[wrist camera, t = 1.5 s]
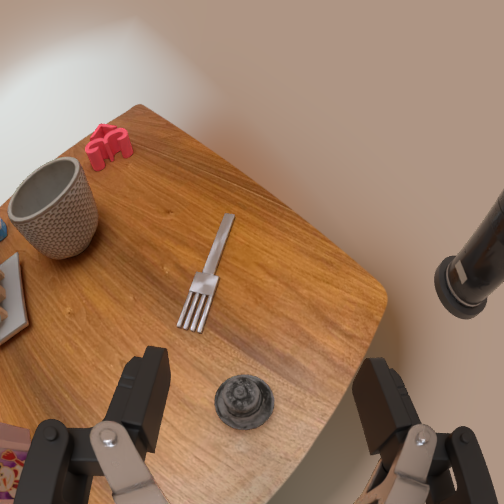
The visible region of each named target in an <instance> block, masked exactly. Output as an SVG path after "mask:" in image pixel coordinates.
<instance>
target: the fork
mask: <svg viewBox="0 0 504 504" xmlns="http://www.w3.org/2000/svg"><path fill="white" fill-rule="evenodd" d="M234 219H235V215H234V214H228V213H225V215H224V217H223V220H222V222H221V225H220V227H219V230H218V232H217V235H216V238H215V240H214V243H213V245H212V248H211V251H210V253H209V256H208V258H207V261H206V264H205V266H204V269H203V272H202V273H201V272H196V274H195V277H194V279H193V282H192V285H191V287H190V290H189V293H188V296H187V299H186V302H185V304H184V307H183V310H182V312H181V315H180V318H179V321H178V324H177V327H178V328H182V325H183V322H184V319H185V316H186V313H187V311H188V308H189V305H190V302H191V300H192V297H193V294H195V296H194V299H193V302H192V305H191V307H190V310H189V313H188V316H187V319H186V322H185V324H184V327H183V328H184V329H185V330H188V329H189V326H190V323H191V320H192V317H193V314H194V311H195V308H196V305H197V303H198V300H199V297H200V295H201V296H202V297H201V300H200V302H199V305H198V308H197V311H196V314H195V317H194V320H193V323H192V326H191V329H190V330H191V331H192V332H195V330H196V327H197V324H198V321H199V318H200V315H201V312H202V309H203V306H204V303H205V300H206V297H208V300H207V303H206V306H205V309H204V312H203V315H202V318H201V321H200V324H199V327H198V330H197V332H198V333H200V334H202V332H203V329H204V325H205V322H206V319H207V316H208V313H209V310H210V307H211V304H212V301H213V298H214V295H215V292H216V288H217V285H218V282H219V279H220V278H219V276H216V275H215V273H216V270H217V267H218V264H219V262H220V259H221V256H222V253H223V250H224V247H225V245H226V242H227V239H228V236H229V233H230V231H231V228H232V225H233V222H234Z"/></svg>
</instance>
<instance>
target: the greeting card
mask: <svg viewBox="0 0 504 504" xmlns="http://www.w3.org/2000/svg"><path fill="white" fill-rule="evenodd" d="M30 445H31V440H30V431H29V429H25V428H21V427H16V426H12V425H8V424H4V423H1V422H0V504H13V502H14V498H15V494H16V490H17V486H18V483H19V479H20V476H21V472H22V469H23V466H24V463H25V459H26V456H27V453H28V451H29V448H30Z"/></svg>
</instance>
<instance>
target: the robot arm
mask: <svg viewBox="0 0 504 504" xmlns="http://www.w3.org/2000/svg"><path fill="white" fill-rule="evenodd" d="M503 282H504V189H503V191H502V192H501V194H500V195H499V197H498V199H497V200H496V202H495V204H494V205H493V207H492V208H491V210H490V211H489V213H488V214H487V216H486V217H485V219H484V220H483V221H482V223H481V224H480V226H479V227H478V229H477V230H476V231H475V233H474V234H473V235H472V237H471V238H470V239H469V240H468V242H467V243H466V244H465V246H464V247H463V248H462V250H461V251H460V252H459V253H458V255H457V256H456V257H455V258H454V259H453V260H452V261H451V262H450V263H449V265H448V266H447V267H446V270H445V283H446V286H447V289H448V291H449V293H450V294H451V296H452V297H453V298H454V300H455V301H456V302H457V303H459V304H460V305H462V306H464V307H466V308H475V307H477V306H478V305H479V304H480V303H482V302H483V300H484V299H485V298H487V297H488V296H489V295H490V294H491V293H492V292H493V291H494V290H495V289H497V287H499V286H500V285H501V284H502V283H503ZM170 380H171V372H170V365H169V358H168V351H167V349H166V348H161V347H154V346H147V348H146V350H145V353H144V356H143V358H141V357H135V356H134V357H133V358H132V359H131V360H130V361H129V362H128V363H127V364H126V365H125V367H124V370H123V372H122V375H121V377H120V380H119V382H118V386H117V387H116V390H115V392H114V395H113V398H112V400H111V403H110V406H109V408H108V411H107V414H106V416H105V418H104V419H103V421H102V422H100V423H98V424H96V425H95V426H94V427H91V428H66V427H65V425H64V424H63V423H62V422H60V421H58V420H55V419H48V420H45V421H43V422H41V423H40V424H39V425H38V427H37V429H36V431H35V434H34V437H33V439H32V442H31V445H30V448H29V451H28V453H27V456H26V459H25V463H24V466H23V469H22V472H21V476H20V479H19V483H18V486H17V490H16V494H15V498H14V502H13V504H88V500H89V494H90V489H91V484H92V479H93V476H105V477H106V479H107V481H108V483H109V485H110V487H111V490H112V492H113V494H112V496H113V499H114V502H115V504H171V503H170V502H169V500H168V499H167V498H166V496H165V495H164V493H163V492H162V490H161V489H160V487H159V485H158V484H157V482H156V481H155V479H154V477H153V476H152V474H151V473H150V471H149V469H148V467H147V466H146V464H145V462H144V461H145V456H146V452H150V453H155V448H156V444H157V439H158V434H159V430H160V425H161V421H162V417H163V412H164V408H165V404H166V400H167V395H168V391H169V387H170ZM352 391H353V396H354V399H355V402H356V406H357V409H358V412H359V416H360V420H361V423H362V426H363V430H364V434H365V437H366V441H367V444H368V448H369V452H370V455H375V454H380V455H381V458H380V460H379V461H378V463H377V465H376V467H375V469H374V471H373V473H372V475H371V477H370V479H369V481H368V483H367V485H366V487H365V489H364V490H363V492H362V494H361V495H360V497H359V498H358V499H357V500H356V501H355V502H354V503H353V504H424V503H425V502H426V504H498V501H497V497H496V494H495V490H494V487H493V484H492V480H491V477H490V474H489V471H488V468H487V466H486V462H485V460H484V457H483V454H482V452H481V449H480V446H479V444H478V441H477V439H476V436H475V434H474V432H473V431H472V430H471V429H470V428H468V427H465V426H461V427H458V428H456V429H455V430H454V431H453V432H452V433H451V434H449V433H435V431H434V430H433V429H432V428H431V427H429V426H428V425H425V424H422V423H421V422H420V419H419V417H418V415H417V413H416V410H415V408H414V406H413V403H412V401H411V399H410V396H409V395H408V392H407V390H406V388H405V385H404V383H403V381H402V379H401V377H400V376H399V374H397V372H396V371H395V370H393V369H389V368H388V365H387V363H386V361H385V359H384V358H382V357H381V358H366V359H365V360H364V362H363V364H362V366H361V368H360V370H359V372H358V374H357V375H356V377H355V379H354V382H353V387H352ZM451 467H452V469H453V472H454V476H455V479H456V482H457V491H455V488H454V485H453V481H452V477H451V474H450V470H449V468H451Z"/></svg>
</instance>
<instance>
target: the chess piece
mask: <svg viewBox="0 0 504 504" xmlns="http://www.w3.org/2000/svg"><path fill="white" fill-rule="evenodd" d="M214 405H215V409H216V412H217V414H218V416H219V418H220V419H221V420H222V421H223V422H224V423H225V424H227V425H228V426H230V427H232V428H235V429H239V430H250V429H254V428H257V427H259V426H261V425H263V424H264V423H265V422H266V421H267V420H268V419H269V417H270V416H271V414H272V412H273V408H274V396H273V393H272V391H271V389H270V387H269V386H268V385H267V384H266V383H265V382H264V381H263V380H261V379H259V378H258V377H255V376H252V375H237V376H233V377H231V378H229V379H227V380H226V381H225V382H224V383H222V384H221V386H220V387H219V389H218V390H217V392H216V395H215V404H214Z"/></svg>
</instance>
